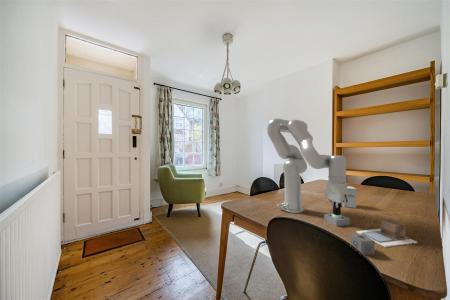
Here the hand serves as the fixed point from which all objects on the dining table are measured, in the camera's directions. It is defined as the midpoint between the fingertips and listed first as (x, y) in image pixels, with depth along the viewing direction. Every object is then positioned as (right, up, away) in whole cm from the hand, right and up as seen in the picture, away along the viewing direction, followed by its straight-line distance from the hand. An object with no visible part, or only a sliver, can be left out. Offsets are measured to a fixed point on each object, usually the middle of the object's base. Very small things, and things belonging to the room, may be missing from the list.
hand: (336, 214), depth 89 cm
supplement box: (+24, -4, +26) cm, 36 cm away
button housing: (0, -4, 0) cm, 4 cm away
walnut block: (+15, -4, -15) cm, 21 cm away
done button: (0, -4, 0) cm, 4 cm away
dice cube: (-6, -5, -25) cm, 26 cm away
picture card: (+11, -4, -15) cm, 19 cm away
